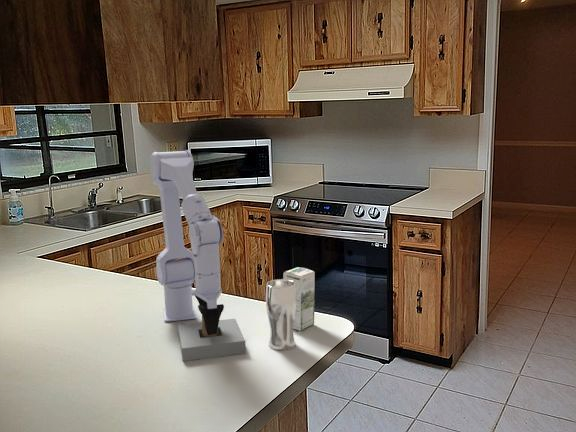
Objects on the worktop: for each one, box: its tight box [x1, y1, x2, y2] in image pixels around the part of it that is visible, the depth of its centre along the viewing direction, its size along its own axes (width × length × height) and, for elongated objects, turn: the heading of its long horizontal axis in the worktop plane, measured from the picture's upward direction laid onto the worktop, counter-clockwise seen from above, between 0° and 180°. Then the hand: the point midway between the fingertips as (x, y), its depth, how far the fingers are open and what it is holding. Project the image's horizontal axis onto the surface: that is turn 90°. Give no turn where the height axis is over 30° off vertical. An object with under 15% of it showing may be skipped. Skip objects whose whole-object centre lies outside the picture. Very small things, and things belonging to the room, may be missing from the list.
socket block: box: [177, 318, 246, 362], centre depth 128 cm, size 14×14×3 cm
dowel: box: [201, 315, 218, 338], centre depth 128 cm, size 4×4×8 cm
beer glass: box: [265, 278, 296, 351], centre depth 126 cm, size 7×7×15 cm
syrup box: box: [282, 266, 316, 332], centre depth 137 cm, size 6×6×14 cm
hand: (210, 327), depth 128 cm, fingers open, 7 cm apart
